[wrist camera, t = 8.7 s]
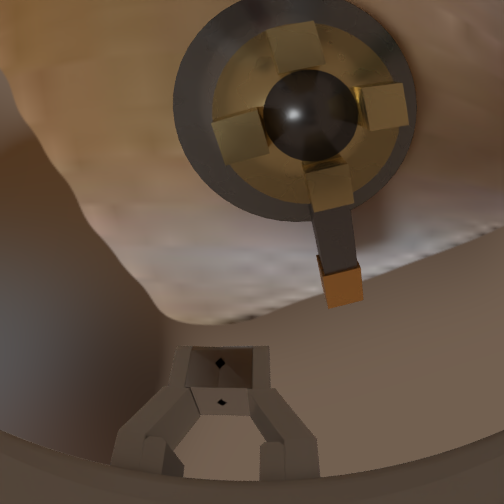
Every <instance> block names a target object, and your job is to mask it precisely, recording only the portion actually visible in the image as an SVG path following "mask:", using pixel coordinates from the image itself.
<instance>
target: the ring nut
mask: <svg viewBox="0 0 504 504" xmlns="http://www.w3.org/2000/svg"><path fill="white" fill-rule="evenodd" d="M212 119H213V121H212V123H211V125H212V128H213V131H214V134H215V137H216V140H217V142H218V145H219V148H220V151H221V154H222V157H223V160H224V163H225V166H226V165H230V166H231V167H232V168H233V170H234V171H235V172H236V173H237V174H238V175H239V176H240V177H241V178H242V179H243V180H244V181H245V182H247V183H248V184H249V185H251V186H252V187H253V188H255V189H257V190H258V191H260V192H262V193H264V194H266V195H268V196H270V197H273V198H276V199H279V200H282V201H286V202H292V203H300V204H308V207H309V211H310V216H311V220H312V225H313V230H314V234H315V239H316V244H317V249H318V254H319V255H316V257H317V262H318V267H319V272H320V277H321V282H322V287H323V291H324V294H325V298H326V302H327V305H328V308H333V307H337V306H342V305H346V304H349V303H354V302H358V301H361V300H363V289H362V278H361V268H360V265H359V263H358V261H357V258H356V249H355V241H354V233H353V226H352V218H351V211H350V205H349V204H353V203H354V198H353V192H355V191H356V190H358V189H360V188H361V187H363V186H364V185H365V184H367V183H368V182H369V181H370V180H371V179H372V178H373V177H374V176H375V175H376V174H377V173H378V172H379V171H380V170H381V168H382V167H383V166H384V165H385V163H386V161H387V160H388V158H389V156H390V155H391V152H392V150H393V148H394V146H395V143H396V139H397V136H398V132H399V126H405V125H409V120H408V113H407V106H406V100H405V94H404V88H403V83H401V82H395V81H393V79H392V77H391V75H390V73H389V71H388V69H387V67H386V66H385V65H384V63H383V62H382V60H381V59H380V58H379V56H378V55H377V54H376V53H375V52H374V51H373V50H372V49H371V48H370V47H369V46H367V45H366V44H365V43H364V42H362V41H361V40H360V39H358V38H356V37H355V36H353V35H351V34H350V33H347V32H345V31H343V30H341V29H338V28H335V27H332V26H328V25H324V24H317V23H314V21H308V22H302V23H292V24H285V25H281V26H278V27H274V28H271V29H267V30H266V31H264V32H262V33H260V34H258V35H257V36H255V37H253V38H252V39H250V40H249V41H248V42H246V43H245V44H244V45H243V46H241V47H240V48H239V49H238V50H237V51H236V53H235V54H234V55H233V56H232V57H231V58H230V60H229V61H228V63H227V64H226V66H225V67H224V69H223V71H222V73H221V75H220V77H219V79H218V82H217V85H216V88H215V91H214V97H213V103H212Z"/></svg>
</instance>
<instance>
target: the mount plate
mask: <svg viewBox="0 0 504 504" xmlns="http://www.w3.org/2000/svg"><path fill="white" fill-rule="evenodd" d="M308 21H314V23H317V24H324V25H328V26H332V27H335V28H338V29H341V30H343V31H345V32H347V33H350V34H351V35H353V36H355V37H356V38H358V39H360V40H361V41H362V42H364V43H365V44H366V45H367V46H369V47H370V48H371V49H372V50H373V51H374V52H375V53H376V54H377V55H378V56H379V58H380V59H381V60H382V62H383V63H384V65H385V66H386V67H387V69H388V71H389V73H390V75H391V77H392V79H393V81H395V82H401V83H403V88H404V94H405V100H406V106H407V113H408V120H409V125H405V126H399V132H398V136H397V139H396V143H395V146H394V148H393V150H392V152H391V155H390V156H389V158H388V160H387V161H386V163H385V165H384V166H383V167H382V168H381V170H380V171H379V172H378V173H377V174H376V175H375V176H374V177H373V178H372V179H371V180H370V181H369V182H368V183H367V184H365V185H364V186H363V187H361V188H360V189H358V190H356V191H355V192H353V198H354V203H353V204H349V205H350V210H351V209H353V208H355V207H357V206H358V205H360V204H362V203H364V202H365V201H367V200H368V199H369V198H371V197H372V196H373V195H375V194H376V193H377V192H378V191H379V190H380V189H381V188H383V187H384V186H385V185H386V184H387V182H388V181H389V180H390V179H391V178H392V176H393V175H394V174H395V173H396V171H397V170H398V168H399V166H400V165H401V163H402V162H403V160H404V158H405V156H406V154H407V151H408V149H409V146H410V143H411V140H412V137H413V134H414V128H415V123H416V110H417V104H416V92H415V87H414V82H413V78H412V75H411V72H410V69H409V66H408V64H407V61H406V59H405V57H404V55H403V54H402V52H401V50H400V48H399V47H398V45H397V44H396V42H395V41H394V39H393V38H392V37H391V35H390V34H389V33H388V32H387V31H386V30H385V29H384V28H383V27H382V26H381V25H380V24H379V23H378V22H377V21H376V20H375V19H373V18H372V17H371V16H370V15H369V14H367V13H366V12H364V11H363V10H361V9H360V8H358V7H356V6H355V5H353V4H351V3H349V2H347V1H344V0H241V1H239V2H237V3H235V4H233V5H231V6H230V7H228V8H226V9H225V10H223V11H222V12H220V13H219V14H218V15H217V16H215V17H214V18H213V19H212V20H210V21H209V22H208V23H207V24H206V25H205V26H204V27H203V29H202V30H201V31H200V32H199V33H198V34H197V35H196V37H195V38H194V40H193V41H192V43H191V44H190V46H189V47H188V49H187V51H186V53H185V55H184V57H183V59H182V61H181V64H180V67H179V70H178V73H177V76H176V81H175V87H174V93H173V112H174V120H175V126H176V130H177V134H178V138H179V141H180V143H181V146H182V148H183V150H184V153H185V155H186V157H187V158H188V160H189V162H190V163H191V165H192V167H193V168H194V170H195V171H196V172H197V173H198V175H199V176H200V177H201V179H202V180H203V181H204V182H205V183H206V184H207V185H208V186H209V187H210V188H211V189H212V190H213V191H214V192H216V193H217V194H218V195H220V196H221V197H222V198H224V199H225V200H226V201H228V202H230V203H231V204H233V205H235V206H236V207H238V208H240V209H243V210H245V211H247V212H249V213H252V214H255V215H258V216H261V217H264V218H269V219H274V220H279V221H291V222H301V221H312V220H311V216H310V211H309V207H308V204H300V203H292V202H286V201H282V200H279V199H276V198H273V197H270V196H268V195H266V194H264V193H262V192H260V191H258V190H257V189H255V188H253V187H252V186H251V185H249V184H248V183H247V182H245V181H244V180H243V179H242V178H241V177H240V176H239V175H238V174H237V173H236V172H235V171H234V170H233V168H232V167H231V166H230V165H226V166H225V163H224V160H223V157H222V154H221V151H220V148H219V145H218V142H217V140H216V137H215V134H214V131H213V128H212V125H211V123H212V121H213V119H212V103H213V97H214V91H215V88H216V85H217V82H218V79H219V77H220V75H221V73H222V71H223V69H224V67H225V66H226V64H227V63H228V61H229V60H230V58H231V57H232V56H233V55H234V54H235V53H236V51H237V50H238V49H239V48H240V47H241V46H243V45H244V44H245V43H246V42H248V41H249V40H250V39H252V38H253V37H255V36H257V35H258V34H260V33H262V32H264V31H266V30H267V29H271V28H274V27H278V26H281V25H285V24H292V23H302V22H308Z"/></svg>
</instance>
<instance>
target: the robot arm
mask: <svg viewBox="0 0 504 504" xmlns="http://www.w3.org/2000/svg"><path fill="white" fill-rule="evenodd" d="M200 415H238V416H250V417H251V418H252V420H253V422H254V423H255V425H256V426H257V428H258V429H259V431H260V432H261V434H262V435H263V437H264V438H265V440H266V441H267V442H264V443H263V444H262V445H261V446H260V480H259V481H226V480H208V479H195V478H184V477H183V474H184V465H183V463H182V462H181V461H180V459H179V458H178V457H177V456H176V454H175V453H174V452H173V450H174V449H175V448H176V447H177V446H178V444H179V443H180V442H181V440H182V439H183V438H184V437H185V435H186V434H187V433H188V432H189V430H190V429H191V428H192V426H193V425H194V424H195V423H196V421H197V420H198V419H199V417H200ZM0 504H504V430H503V431H500V432H498V433H495V434H493V435H491V436H488V437H486V438H483V439H480V440H478V441H475V442H473V443H470V444H467V445H464V446H462V447H459V448H455V449H452V450H450V451H446V452H443V453H440V454H437V455H433V456H430V457H426V458H423V459H419V460H415V461H411V462H407V463H403V464H399V465H394V466H390V467H385V468H380V469H375V470H370V471H364V472H358V473H351V474H345V475H338V476H329V477H320V469H319V458H318V448H317V439H316V437H315V436H314V435H313V434H312V433H311V431H310V430H309V429H308V428H307V427H306V425H305V424H304V423H303V422H302V421H301V419H300V418H299V417H298V416H297V415H296V414H295V412H294V411H293V410H292V409H291V407H290V406H289V405H288V404H287V402H286V401H285V400H284V399H283V398H282V396H281V395H280V394H279V393H278V391H277V390H276V389H275V388H270V353H269V346H230V347H229V346H228V347H199V346H178V347H177V349H176V351H175V356H174V360H173V365H172V370H171V375H170V379H169V384H168V387H167V386H164V387H163V388H162V389H161V390H160V391H159V392H158V393H156V395H154V397H152V398H151V399H150V400H149V401H148V402H147V403H146V404H145V405H144V406H143V407H142V408H141V409H140V410H139V411H138V412H137V413H136V414H135V415H134V416H133V417H132V418H131V419H130V420H129V421H128V422H127V423H126V424H125V425H124V426H122V427H121V428H120V430H119V431H118V434H117V438H116V442H115V447H114V451H113V455H112V459H111V463H110V465H106V464H101V463H97V462H93V461H89V460H86V459H82V458H78V457H75V456H71V455H68V454H65V453H61V452H58V451H55V450H52V449H49V448H46V447H43V446H40V445H38V444H35V443H32V442H29V441H26V440H24V439H22V438H19V437H17V436H14V435H12V434H9V433H6V432H4V431H2V430H0Z"/></svg>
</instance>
